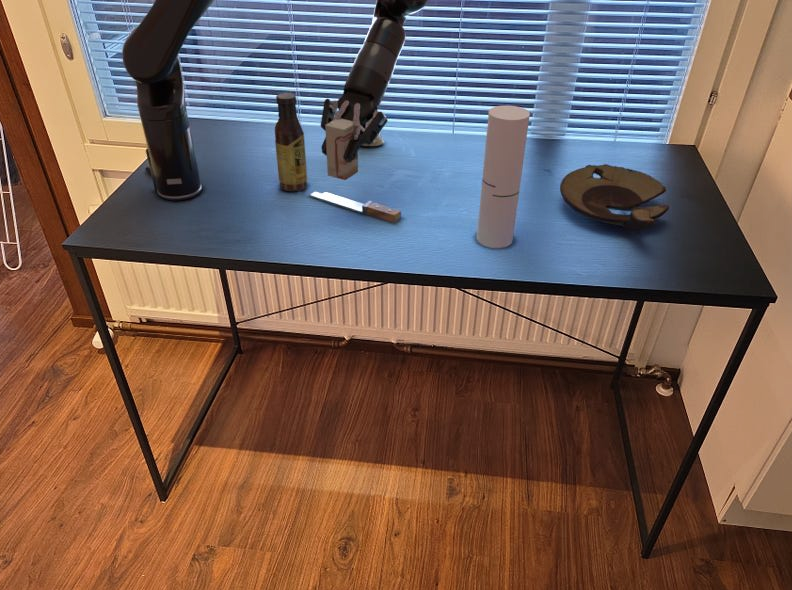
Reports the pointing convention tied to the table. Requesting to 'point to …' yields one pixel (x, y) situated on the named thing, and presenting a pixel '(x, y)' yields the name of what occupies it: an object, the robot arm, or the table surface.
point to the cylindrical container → (502, 175)
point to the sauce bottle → (290, 145)
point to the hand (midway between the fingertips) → (336, 157)
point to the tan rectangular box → (339, 149)
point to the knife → (360, 206)
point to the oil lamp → (613, 195)
